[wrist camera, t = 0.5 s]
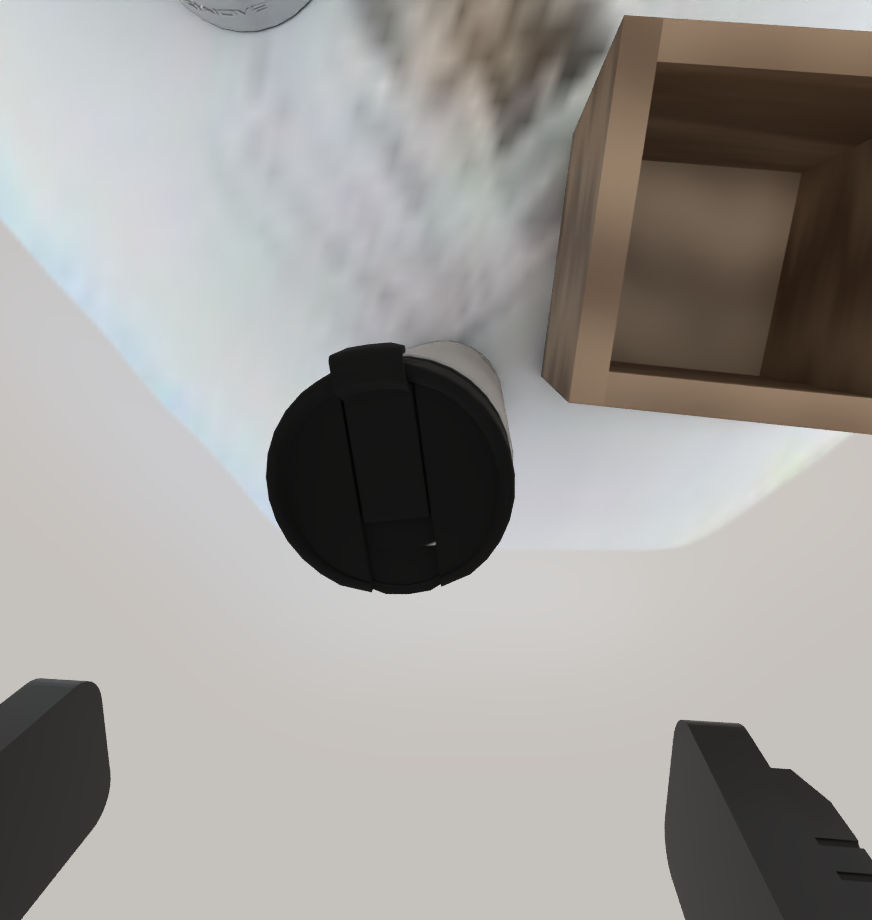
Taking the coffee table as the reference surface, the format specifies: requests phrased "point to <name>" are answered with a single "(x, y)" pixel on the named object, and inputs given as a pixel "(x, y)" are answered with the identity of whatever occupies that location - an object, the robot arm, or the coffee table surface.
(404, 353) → the travel mug
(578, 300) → the wooden box
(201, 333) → the coffee table surface
